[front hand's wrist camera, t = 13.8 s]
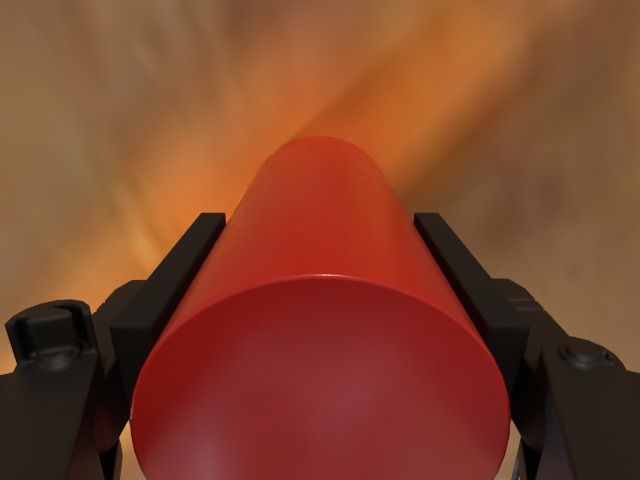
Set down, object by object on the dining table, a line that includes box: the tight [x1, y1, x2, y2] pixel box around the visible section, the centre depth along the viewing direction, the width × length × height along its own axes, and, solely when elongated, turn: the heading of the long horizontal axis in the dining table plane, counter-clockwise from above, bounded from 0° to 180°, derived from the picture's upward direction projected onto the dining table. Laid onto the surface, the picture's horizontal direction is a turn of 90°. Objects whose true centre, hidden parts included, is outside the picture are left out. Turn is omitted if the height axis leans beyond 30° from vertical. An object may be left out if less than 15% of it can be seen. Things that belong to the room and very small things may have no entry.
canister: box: [130, 137, 511, 480], centre depth 13 cm, size 6×6×12 cm
